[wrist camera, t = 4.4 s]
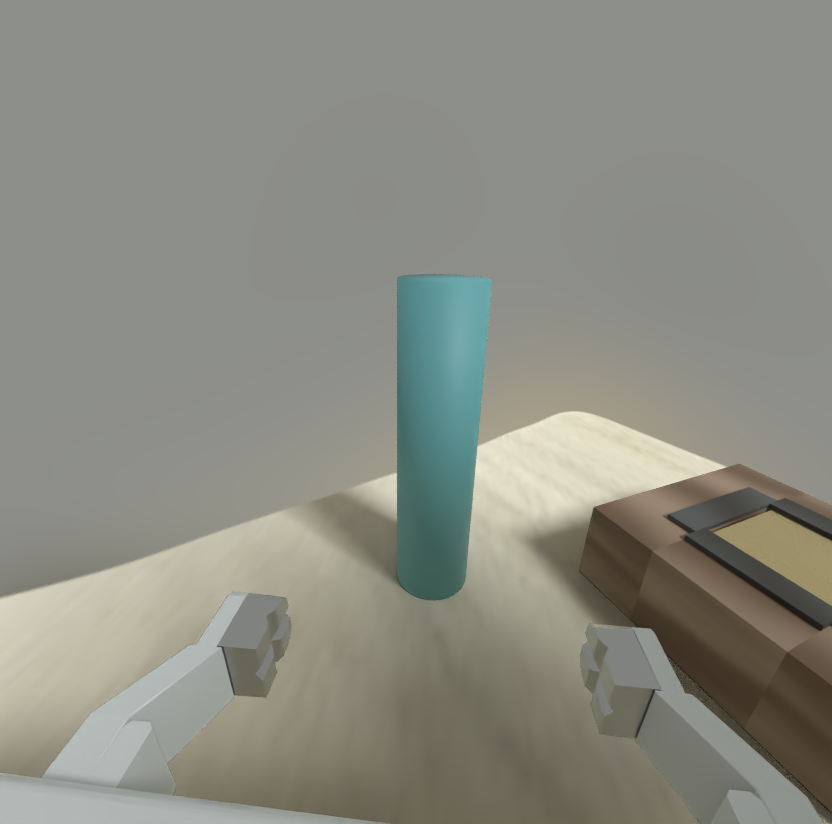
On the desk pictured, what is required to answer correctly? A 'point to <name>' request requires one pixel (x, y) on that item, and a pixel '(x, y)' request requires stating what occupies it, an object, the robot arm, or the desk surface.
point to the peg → (438, 425)
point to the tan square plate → (786, 550)
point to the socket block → (727, 607)
